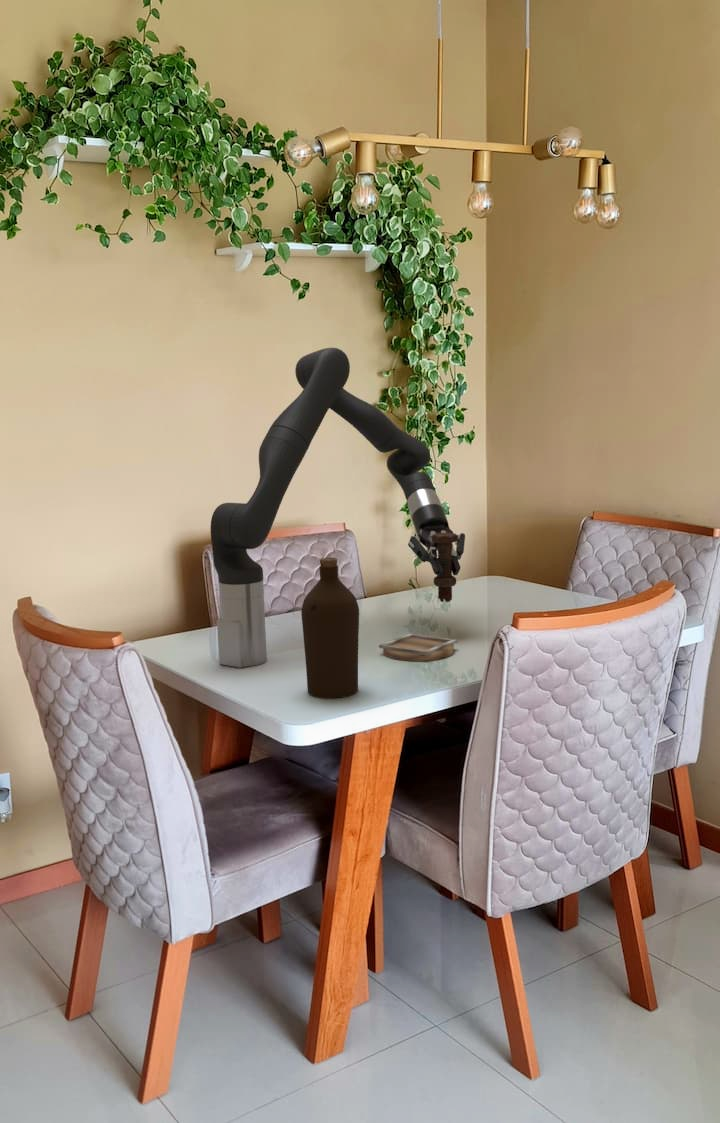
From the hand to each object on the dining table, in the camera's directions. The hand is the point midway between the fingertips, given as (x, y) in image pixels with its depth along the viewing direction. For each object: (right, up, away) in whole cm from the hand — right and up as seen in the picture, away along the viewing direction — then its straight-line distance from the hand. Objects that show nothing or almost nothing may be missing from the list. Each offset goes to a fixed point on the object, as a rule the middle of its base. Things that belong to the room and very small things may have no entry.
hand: (448, 573), depth 217 cm
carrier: (-7, -17, -7) cm, 19 cm away
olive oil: (-24, -22, -33) cm, 46 cm away
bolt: (-1, -6, +3) cm, 7 cm away
